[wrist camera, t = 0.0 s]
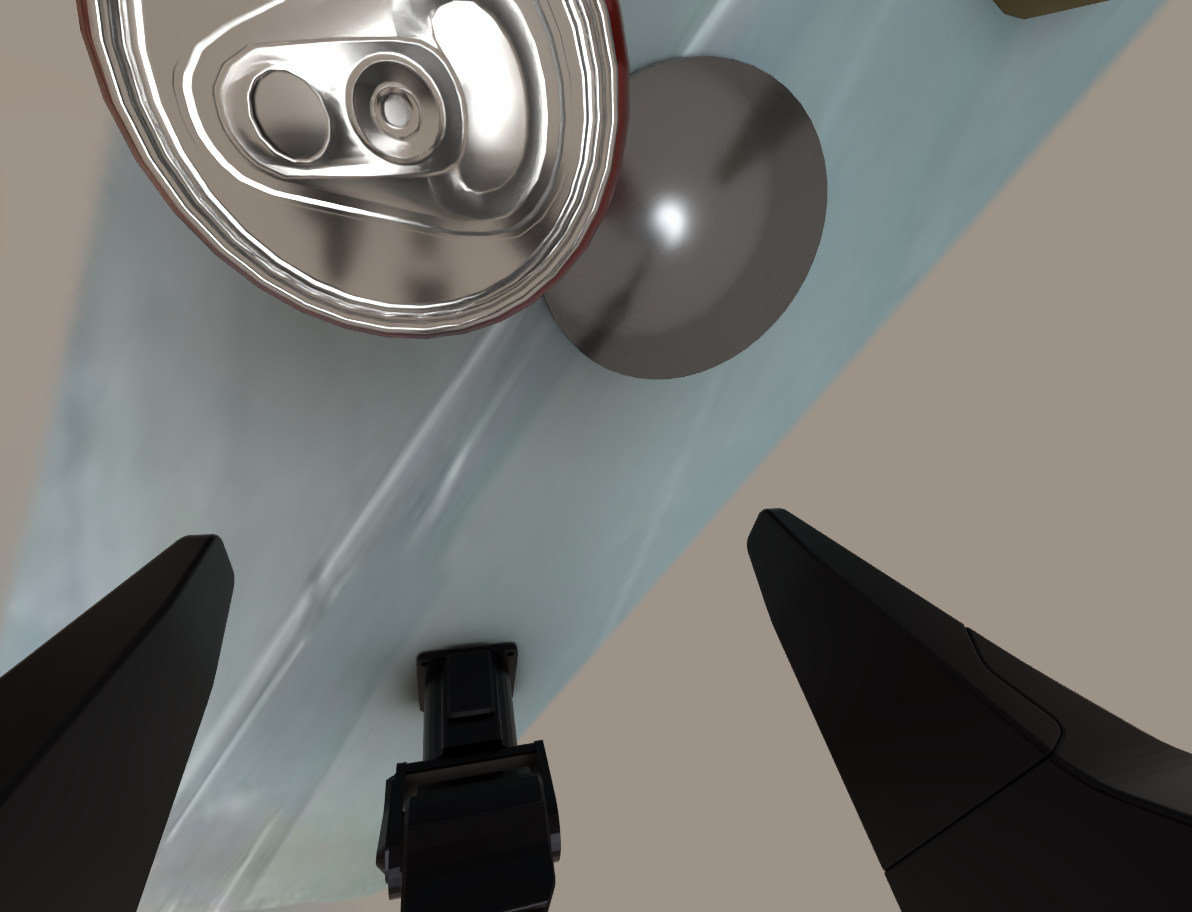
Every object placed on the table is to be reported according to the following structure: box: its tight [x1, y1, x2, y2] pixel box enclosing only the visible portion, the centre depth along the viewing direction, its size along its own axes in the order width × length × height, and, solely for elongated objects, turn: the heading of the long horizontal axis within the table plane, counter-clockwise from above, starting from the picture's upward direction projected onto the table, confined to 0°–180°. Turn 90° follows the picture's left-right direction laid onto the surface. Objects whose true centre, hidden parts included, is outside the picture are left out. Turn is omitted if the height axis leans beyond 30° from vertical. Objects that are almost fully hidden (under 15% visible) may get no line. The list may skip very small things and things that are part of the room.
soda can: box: [76, 0, 630, 339], centre depth 12 cm, size 7×7×12 cm
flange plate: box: [544, 56, 827, 379], centre depth 21 cm, size 12×12×1 cm
